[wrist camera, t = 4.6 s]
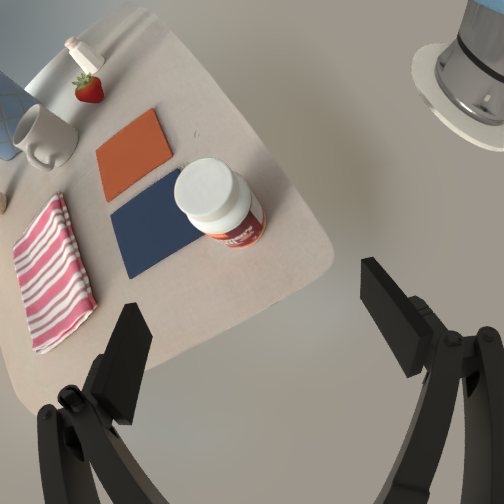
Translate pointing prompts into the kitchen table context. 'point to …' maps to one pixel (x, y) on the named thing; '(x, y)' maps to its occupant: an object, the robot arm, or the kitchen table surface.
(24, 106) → the planter
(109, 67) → the kitchen table surface
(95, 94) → the fruit
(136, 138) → the terracotta mat
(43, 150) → the mug
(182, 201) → the pill bottle
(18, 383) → the kitchen table surface
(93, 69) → the pepper shaker
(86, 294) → the dish towel
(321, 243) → the kitchen table surface
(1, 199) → the garlic bulb
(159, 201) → the slate blue mat
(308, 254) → the kitchen table surface
